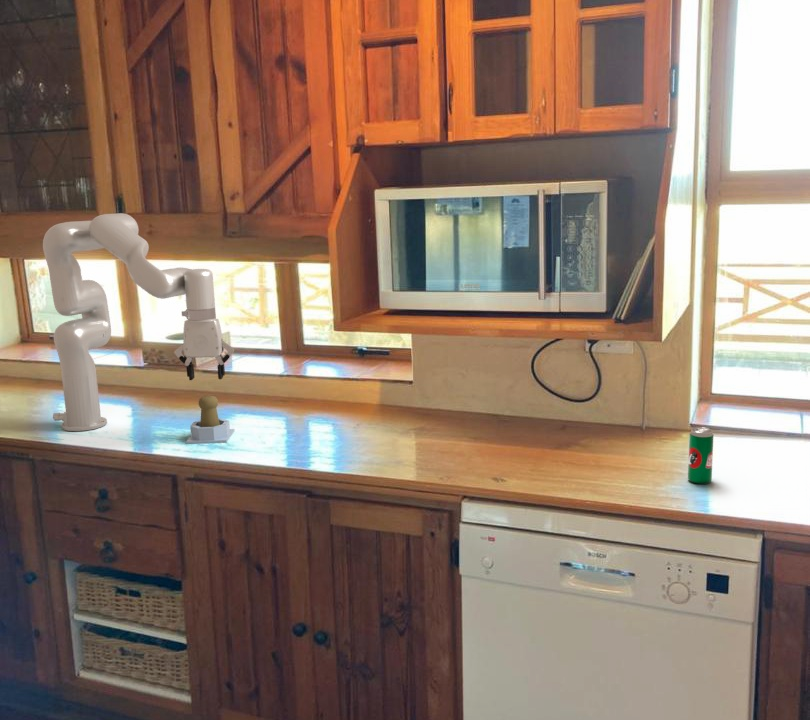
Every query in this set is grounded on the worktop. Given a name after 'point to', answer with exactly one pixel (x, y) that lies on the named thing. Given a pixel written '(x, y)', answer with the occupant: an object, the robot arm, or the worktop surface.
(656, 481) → the worktop surface
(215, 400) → the cork
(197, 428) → the grey octagonal holder
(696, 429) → the soda can
